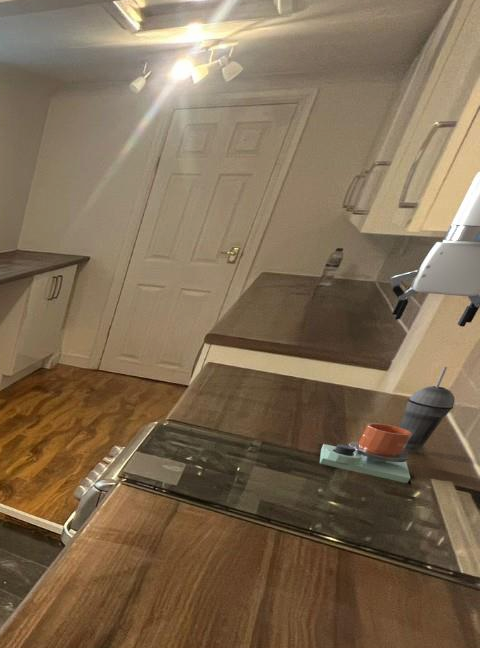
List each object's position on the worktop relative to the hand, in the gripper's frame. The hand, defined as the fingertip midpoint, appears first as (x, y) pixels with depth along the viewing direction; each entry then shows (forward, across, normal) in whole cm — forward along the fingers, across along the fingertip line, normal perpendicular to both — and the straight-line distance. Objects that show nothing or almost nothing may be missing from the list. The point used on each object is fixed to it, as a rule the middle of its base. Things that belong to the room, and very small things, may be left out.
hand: (427, 322), depth 124 cm
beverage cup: (+31, -8, -10) cm, 33 cm away
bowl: (+26, -1, +10) cm, 28 cm away
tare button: (+28, +4, +15) cm, 32 cm away
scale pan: (+30, -2, +10) cm, 32 cm away
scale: (+30, 0, +12) cm, 32 cm away
